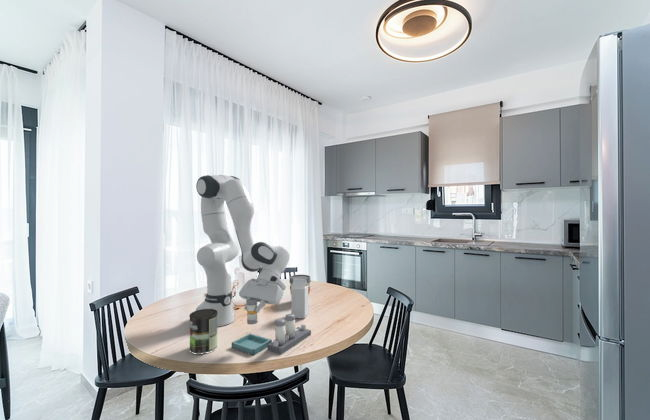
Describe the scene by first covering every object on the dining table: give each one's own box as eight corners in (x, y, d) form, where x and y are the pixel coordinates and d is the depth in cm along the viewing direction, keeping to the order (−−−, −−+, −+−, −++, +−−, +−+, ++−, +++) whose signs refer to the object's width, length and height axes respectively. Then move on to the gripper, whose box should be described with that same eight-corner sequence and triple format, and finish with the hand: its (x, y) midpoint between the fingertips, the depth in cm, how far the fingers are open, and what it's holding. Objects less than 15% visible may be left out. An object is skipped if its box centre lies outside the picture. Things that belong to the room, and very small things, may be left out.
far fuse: (273, 344, 114) (272, 321, 114) (279, 340, 118) (279, 317, 118) (281, 346, 112) (280, 323, 112) (287, 342, 116) (287, 319, 116)
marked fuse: (245, 323, 116) (244, 300, 116) (252, 319, 119) (251, 297, 119) (252, 325, 114) (251, 302, 114) (259, 321, 117) (259, 299, 117)
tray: (231, 347, 116) (231, 342, 116) (250, 338, 124) (250, 333, 124) (253, 355, 109) (253, 349, 109) (271, 344, 118) (271, 339, 118)
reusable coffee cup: (302, 307, 164) (302, 280, 163) (285, 303, 170) (284, 277, 170) (314, 301, 174) (314, 276, 174) (298, 297, 181) (297, 273, 181)
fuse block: (267, 349, 114) (267, 339, 114) (298, 331, 131) (298, 322, 131) (281, 354, 110) (281, 343, 110) (310, 334, 127) (310, 325, 127)
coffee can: (195, 358, 108) (195, 320, 108) (185, 348, 115) (185, 313, 115) (222, 348, 115) (222, 313, 115) (211, 340, 122) (211, 306, 122)
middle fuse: (283, 337, 120) (283, 316, 120) (289, 334, 123) (289, 313, 123) (291, 340, 118) (291, 317, 118) (297, 336, 121) (297, 314, 121)
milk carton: (304, 318, 146) (304, 281, 146) (291, 317, 147) (291, 280, 147) (308, 313, 153) (308, 277, 153) (295, 313, 154) (295, 277, 154)
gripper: (246, 274, 128) (228, 302, 120) (282, 279, 117) (266, 310, 109) (253, 282, 132) (237, 310, 123) (289, 287, 121) (274, 318, 113)
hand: (251, 310), depth 116 cm, fingers closed on marked fuse, 4 cm apart
